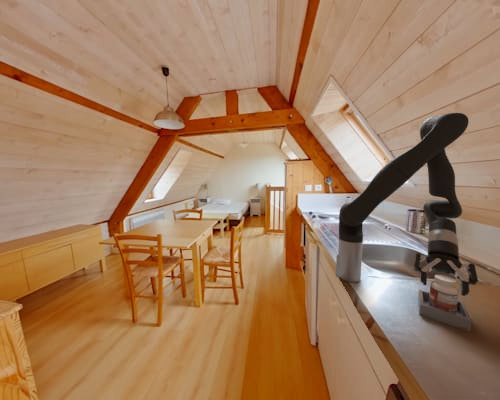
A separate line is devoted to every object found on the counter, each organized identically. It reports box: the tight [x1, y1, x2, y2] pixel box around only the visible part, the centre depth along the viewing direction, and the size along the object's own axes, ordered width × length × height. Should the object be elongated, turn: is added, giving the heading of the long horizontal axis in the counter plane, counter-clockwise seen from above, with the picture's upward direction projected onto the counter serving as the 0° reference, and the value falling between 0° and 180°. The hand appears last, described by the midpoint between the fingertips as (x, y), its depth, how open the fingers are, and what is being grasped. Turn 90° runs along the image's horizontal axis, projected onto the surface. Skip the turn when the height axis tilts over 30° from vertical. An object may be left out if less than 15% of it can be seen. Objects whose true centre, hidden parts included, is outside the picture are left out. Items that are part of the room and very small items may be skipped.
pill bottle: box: [429, 274, 460, 314], centre depth 59 cm, size 6×6×11 cm
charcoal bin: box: [417, 289, 472, 333], centre depth 59 cm, size 11×11×4 cm
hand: (443, 289), depth 58 cm, fingers open, 8 cm apart
